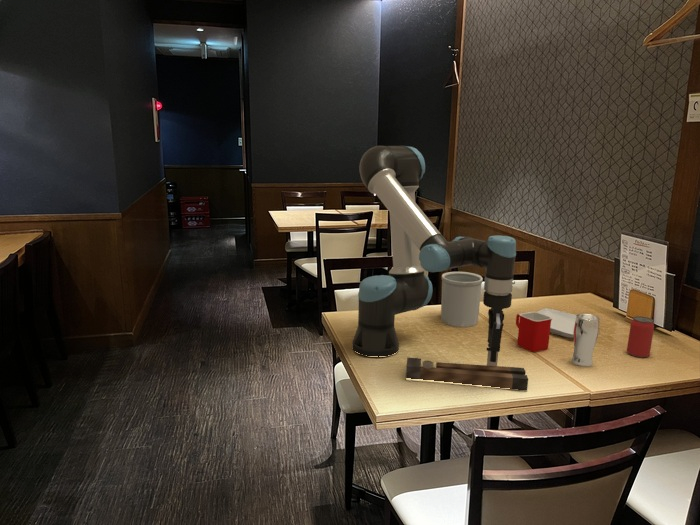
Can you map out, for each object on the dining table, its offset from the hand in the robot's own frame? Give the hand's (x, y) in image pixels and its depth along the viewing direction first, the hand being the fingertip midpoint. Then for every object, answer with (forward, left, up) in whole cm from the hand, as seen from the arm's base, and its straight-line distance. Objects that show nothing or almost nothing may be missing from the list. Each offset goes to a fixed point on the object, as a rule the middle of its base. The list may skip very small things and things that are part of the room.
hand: (491, 370), depth 148 cm
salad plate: (+29, +48, -3) cm, 56 cm away
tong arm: (-3, -2, -2) cm, 4 cm away
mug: (+15, +28, -2) cm, 31 cm away
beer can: (+49, +27, -2) cm, 56 cm away
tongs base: (-8, -4, -2) cm, 9 cm away
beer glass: (+29, +16, -2) cm, 33 cm away
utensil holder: (-7, +47, -2) cm, 47 cm away
